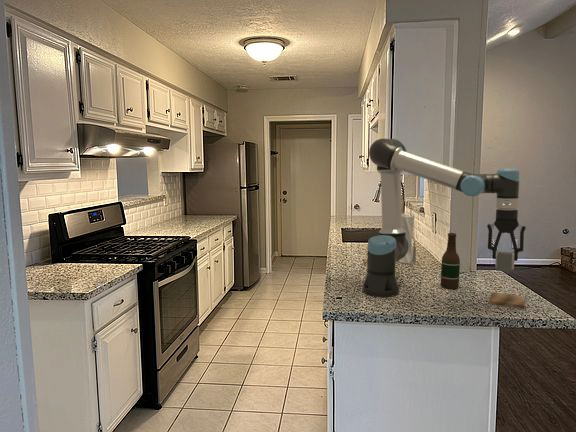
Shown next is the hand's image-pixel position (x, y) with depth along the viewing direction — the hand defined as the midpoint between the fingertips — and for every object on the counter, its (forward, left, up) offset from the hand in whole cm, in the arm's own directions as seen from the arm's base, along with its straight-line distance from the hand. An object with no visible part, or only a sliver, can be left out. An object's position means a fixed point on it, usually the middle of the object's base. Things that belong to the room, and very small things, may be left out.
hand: (504, 267), depth 171 cm
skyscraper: (-48, +46, -14) cm, 69 cm away
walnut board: (+2, +1, -14) cm, 14 cm away
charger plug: (0, 0, 0) cm, 0 cm away
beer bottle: (-21, +11, -14) cm, 28 cm away
